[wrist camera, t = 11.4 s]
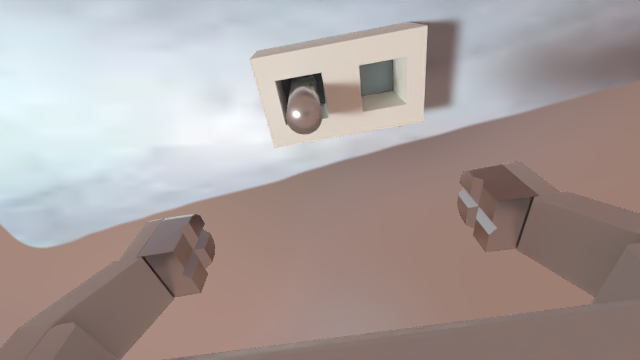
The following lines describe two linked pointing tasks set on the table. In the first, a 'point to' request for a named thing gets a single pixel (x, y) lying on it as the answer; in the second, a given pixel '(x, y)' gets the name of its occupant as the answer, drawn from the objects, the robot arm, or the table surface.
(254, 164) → the table surface
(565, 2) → the table surface
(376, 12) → the table surface
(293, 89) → the peg
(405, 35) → the hole block
